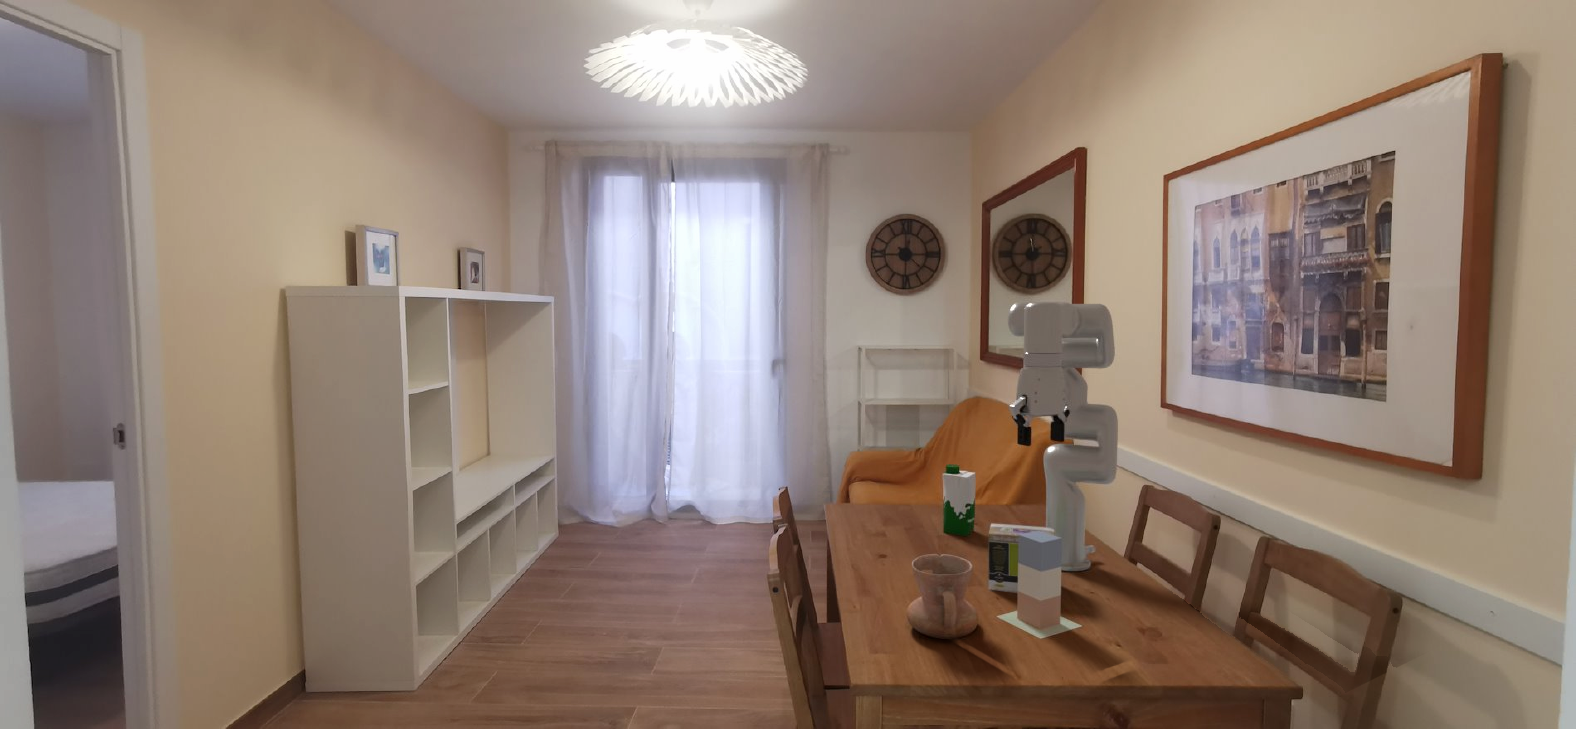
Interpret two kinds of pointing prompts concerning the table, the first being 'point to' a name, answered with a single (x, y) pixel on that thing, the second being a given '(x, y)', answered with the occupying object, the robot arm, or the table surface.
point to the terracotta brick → (1038, 611)
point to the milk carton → (958, 501)
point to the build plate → (1041, 633)
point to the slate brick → (1040, 550)
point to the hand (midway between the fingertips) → (1040, 443)
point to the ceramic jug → (942, 597)
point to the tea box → (1007, 554)
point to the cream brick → (1039, 582)
